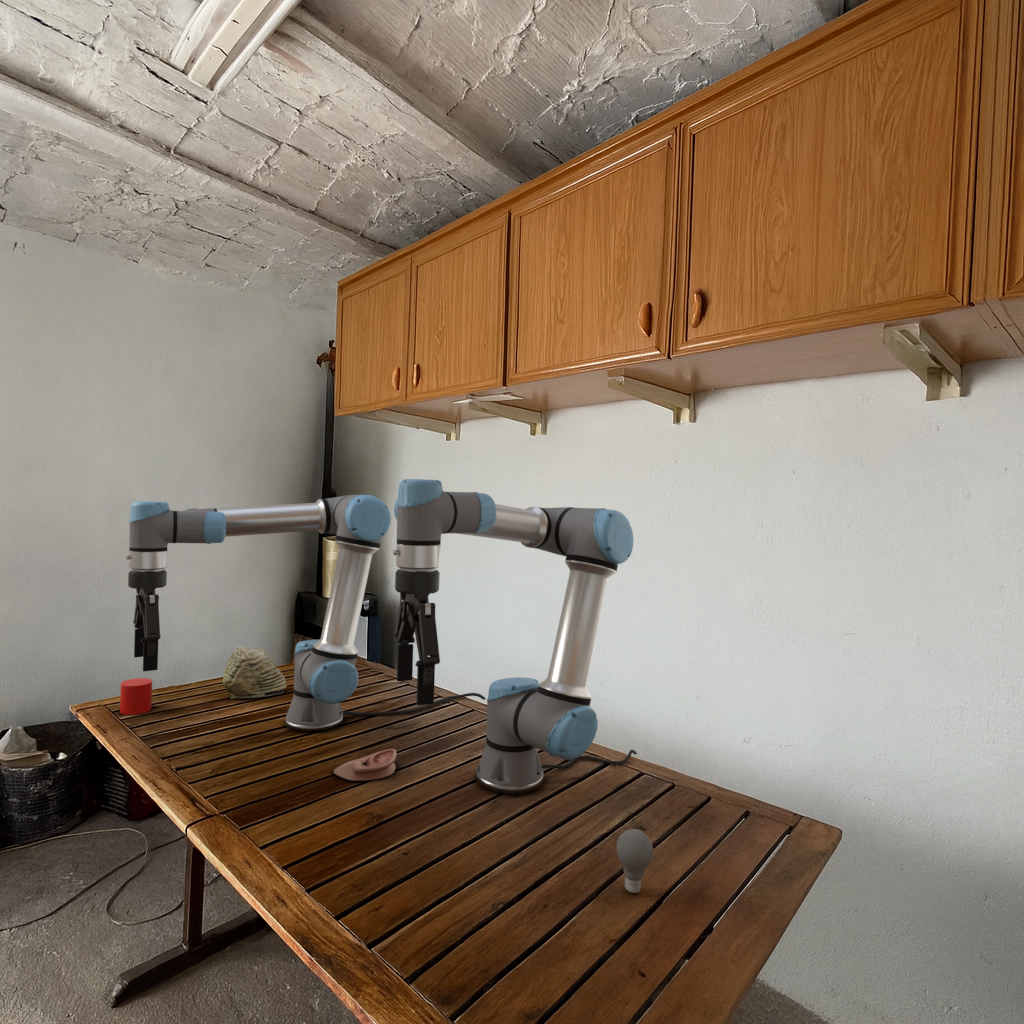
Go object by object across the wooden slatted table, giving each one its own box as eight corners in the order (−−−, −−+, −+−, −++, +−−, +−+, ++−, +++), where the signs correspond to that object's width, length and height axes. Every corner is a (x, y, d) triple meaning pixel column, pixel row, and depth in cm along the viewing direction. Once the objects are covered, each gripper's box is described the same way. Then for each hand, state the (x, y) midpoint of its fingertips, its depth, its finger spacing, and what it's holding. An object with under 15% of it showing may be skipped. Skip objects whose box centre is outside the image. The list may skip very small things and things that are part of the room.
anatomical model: (327, 759, 142) (350, 741, 154) (326, 777, 143) (349, 757, 154) (382, 767, 140) (402, 748, 151) (382, 785, 140) (401, 764, 151)
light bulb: (610, 879, 108) (613, 822, 108) (644, 879, 109) (647, 822, 109) (619, 902, 102) (622, 840, 102) (655, 901, 103) (658, 840, 103)
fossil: (218, 695, 195) (220, 647, 195) (278, 685, 208) (279, 640, 207) (228, 703, 189) (230, 653, 188) (289, 692, 201) (290, 645, 201)
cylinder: (122, 707, 182) (123, 679, 182) (152, 704, 185) (153, 677, 185) (117, 716, 175) (118, 686, 175) (149, 713, 178) (150, 684, 178)
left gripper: (121, 564, 150) (119, 653, 151) (136, 577, 131) (133, 679, 131) (157, 563, 155) (155, 649, 155) (177, 575, 135) (174, 674, 136)
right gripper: (380, 561, 119) (377, 673, 119) (415, 579, 96) (411, 718, 96) (419, 560, 122) (416, 670, 122) (462, 578, 99) (458, 712, 99)
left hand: (145, 663), depth 143 cm, fingers open, 13 cm apart
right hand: (414, 691), depth 109 cm, fingers open, 13 cm apart
